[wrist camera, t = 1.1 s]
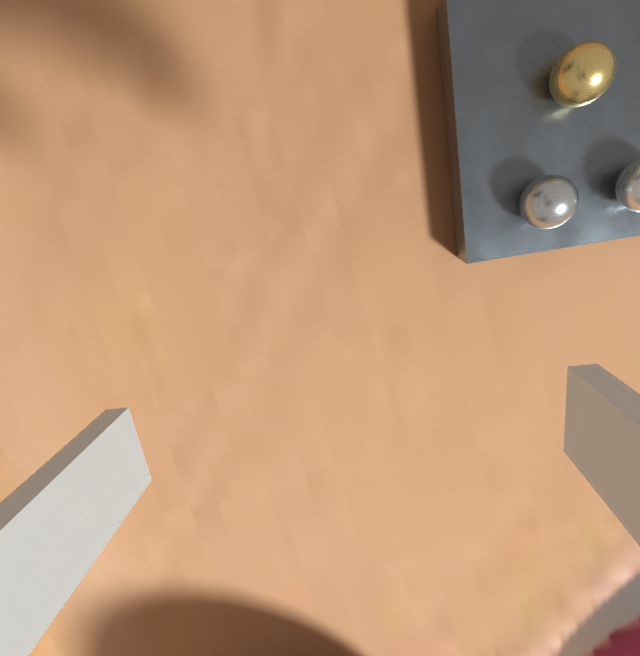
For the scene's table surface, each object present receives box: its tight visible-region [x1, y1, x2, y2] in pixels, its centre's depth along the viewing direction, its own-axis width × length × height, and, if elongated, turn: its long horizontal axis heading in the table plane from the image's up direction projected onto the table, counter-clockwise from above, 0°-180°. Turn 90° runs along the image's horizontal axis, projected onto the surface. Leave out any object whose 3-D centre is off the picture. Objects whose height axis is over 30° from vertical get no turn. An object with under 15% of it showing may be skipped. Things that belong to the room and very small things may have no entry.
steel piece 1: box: [519, 175, 579, 229], centre depth 27 cm, size 3×3×3 cm
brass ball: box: [549, 40, 617, 108], centre depth 24 cm, size 3×3×3 cm
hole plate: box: [437, 0, 640, 264], centre depth 27 cm, size 17×24×3 cm
